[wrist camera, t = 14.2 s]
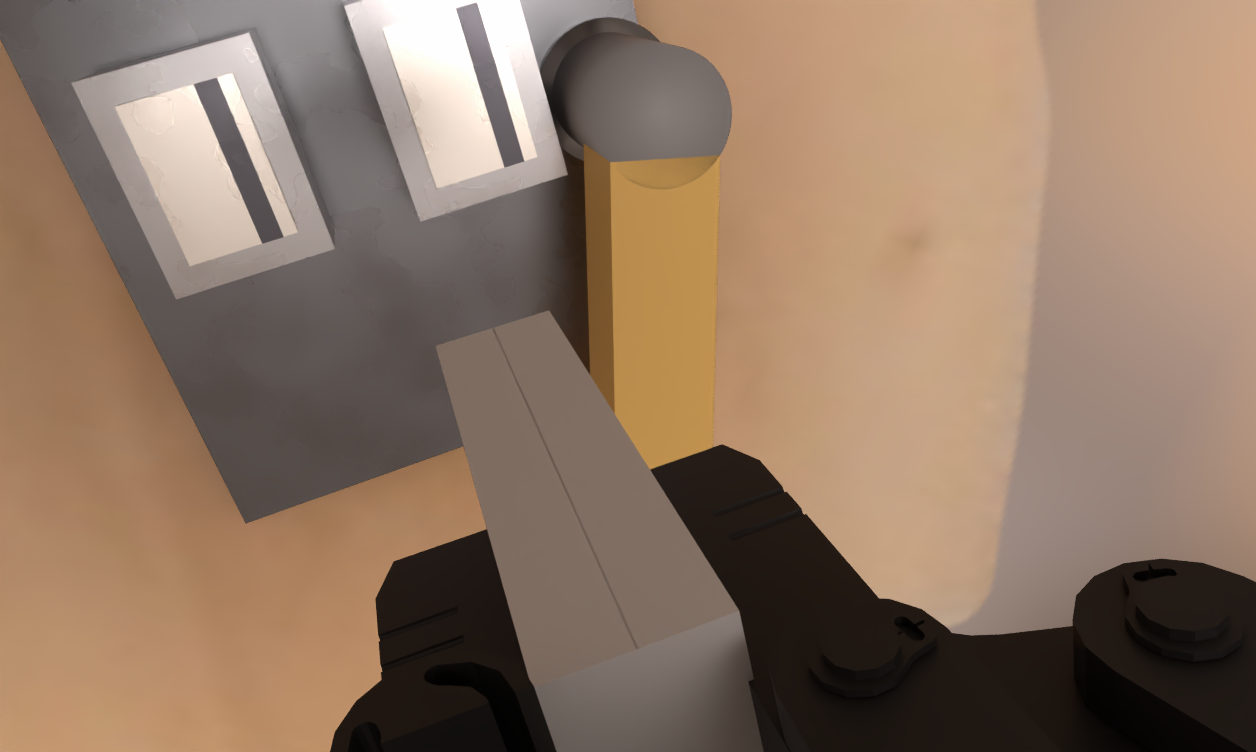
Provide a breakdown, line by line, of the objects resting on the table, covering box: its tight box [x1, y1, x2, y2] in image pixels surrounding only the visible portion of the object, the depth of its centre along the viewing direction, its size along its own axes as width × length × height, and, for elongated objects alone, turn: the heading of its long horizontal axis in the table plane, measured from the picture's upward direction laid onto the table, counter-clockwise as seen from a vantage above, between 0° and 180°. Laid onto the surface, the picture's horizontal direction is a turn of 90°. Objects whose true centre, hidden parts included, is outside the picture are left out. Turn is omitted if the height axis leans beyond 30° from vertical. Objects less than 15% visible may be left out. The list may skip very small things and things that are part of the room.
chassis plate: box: [0, 0, 660, 523], centre depth 29 cm, size 22×18×4 cm
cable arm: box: [553, 32, 732, 469], centre depth 31 cm, size 18×4×6 cm, turn 1°
